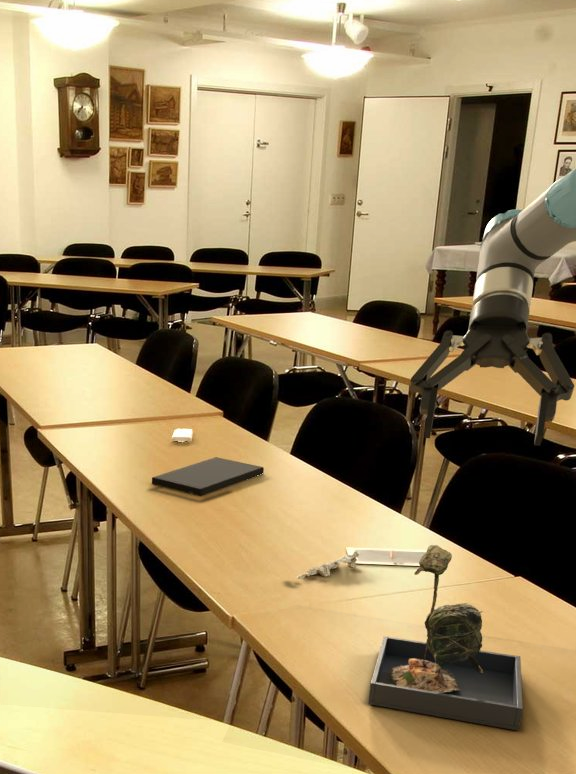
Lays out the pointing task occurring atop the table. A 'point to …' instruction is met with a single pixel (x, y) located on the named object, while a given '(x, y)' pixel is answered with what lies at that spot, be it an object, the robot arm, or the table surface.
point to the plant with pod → (442, 636)
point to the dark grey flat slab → (207, 476)
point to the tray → (471, 703)
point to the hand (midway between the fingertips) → (481, 436)
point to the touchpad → (387, 556)
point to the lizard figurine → (332, 565)
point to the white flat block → (182, 435)
